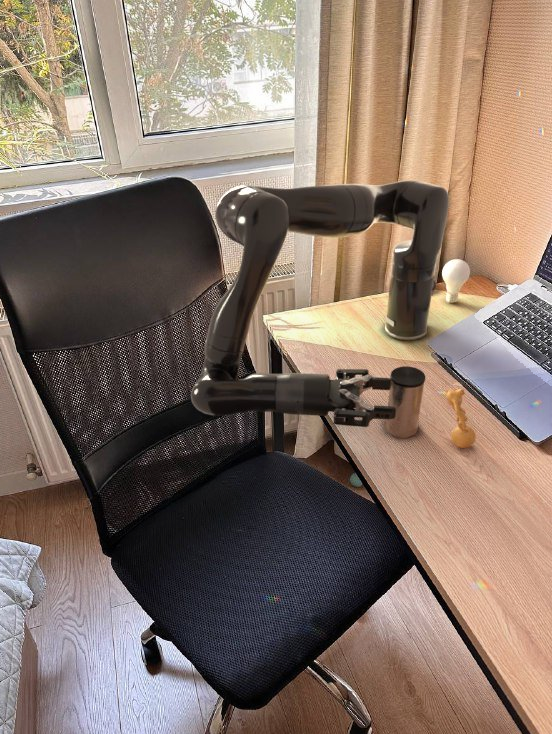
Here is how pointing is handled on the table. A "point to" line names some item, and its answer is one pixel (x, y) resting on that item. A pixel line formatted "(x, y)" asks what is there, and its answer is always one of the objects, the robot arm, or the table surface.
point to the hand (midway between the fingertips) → (394, 398)
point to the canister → (405, 400)
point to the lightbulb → (455, 277)
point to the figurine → (462, 433)
